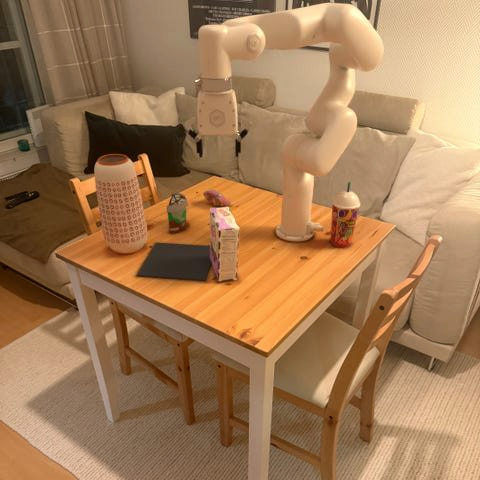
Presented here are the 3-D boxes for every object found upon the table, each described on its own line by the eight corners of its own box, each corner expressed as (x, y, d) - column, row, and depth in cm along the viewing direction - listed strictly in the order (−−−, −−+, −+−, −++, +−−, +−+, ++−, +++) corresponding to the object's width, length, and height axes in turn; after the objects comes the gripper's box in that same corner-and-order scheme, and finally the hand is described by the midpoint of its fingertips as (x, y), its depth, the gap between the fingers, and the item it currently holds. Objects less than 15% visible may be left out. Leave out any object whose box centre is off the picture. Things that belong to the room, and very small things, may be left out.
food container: (187, 234, 151) (185, 206, 145) (169, 234, 151) (166, 206, 145) (191, 218, 161) (189, 191, 155) (174, 218, 161) (171, 191, 155)
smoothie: (348, 251, 141) (357, 189, 129) (323, 245, 145) (330, 184, 133) (357, 241, 147) (367, 180, 135) (333, 234, 151) (341, 175, 138)
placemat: (217, 247, 144) (217, 246, 144) (204, 281, 128) (204, 279, 128) (156, 243, 146) (156, 242, 146) (136, 276, 130) (136, 275, 130)
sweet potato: (206, 205, 174) (199, 192, 168) (213, 197, 175) (207, 183, 169) (224, 212, 168) (218, 199, 163) (232, 204, 169) (226, 190, 164)
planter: (129, 234, 151) (114, 148, 134) (158, 245, 145) (146, 156, 128) (97, 250, 143) (78, 160, 125) (127, 262, 136) (110, 169, 119)
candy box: (208, 257, 138) (209, 206, 128) (227, 256, 139) (229, 205, 129) (217, 282, 127) (218, 228, 117) (237, 280, 129) (240, 227, 118)
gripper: (179, 88, 108) (185, 160, 118) (252, 87, 108) (251, 160, 118) (182, 82, 114) (188, 151, 124) (251, 81, 114) (251, 151, 124)
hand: (219, 155), depth 121 cm, fingers open, 9 cm apart
